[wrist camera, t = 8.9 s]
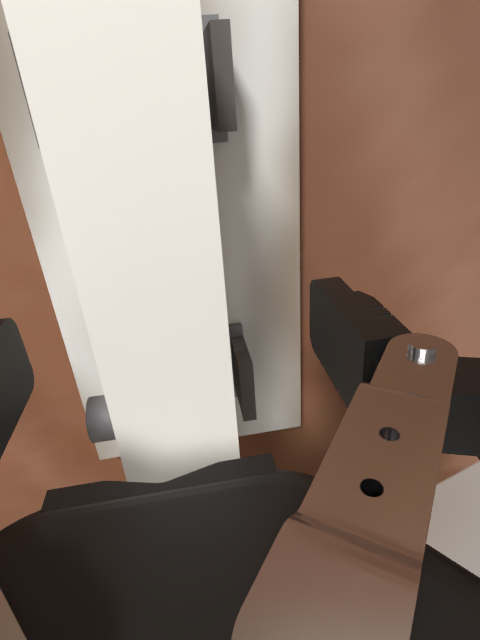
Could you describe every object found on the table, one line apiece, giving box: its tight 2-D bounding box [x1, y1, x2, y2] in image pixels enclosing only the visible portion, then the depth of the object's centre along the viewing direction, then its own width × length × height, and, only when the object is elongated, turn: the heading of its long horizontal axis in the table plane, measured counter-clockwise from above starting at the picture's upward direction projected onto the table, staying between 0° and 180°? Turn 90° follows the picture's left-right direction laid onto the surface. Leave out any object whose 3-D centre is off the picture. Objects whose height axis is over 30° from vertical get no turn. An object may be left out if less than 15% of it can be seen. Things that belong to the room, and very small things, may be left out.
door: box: [1, 0, 240, 483], centre depth 14 cm, size 4×16×9 cm, turn 4°
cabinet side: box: [0, 0, 301, 460], centre depth 17 cm, size 11×22×4 cm, turn 4°
